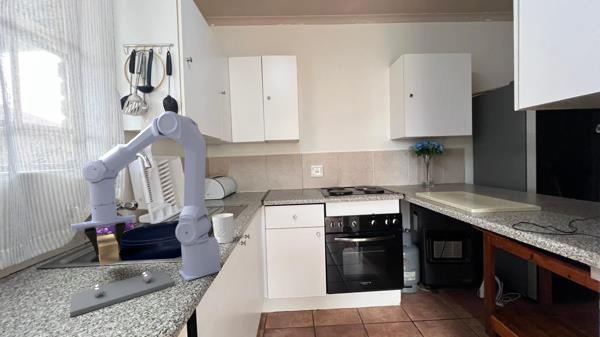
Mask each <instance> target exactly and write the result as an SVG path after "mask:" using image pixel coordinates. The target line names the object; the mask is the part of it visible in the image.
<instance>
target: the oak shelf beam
mask: <svg viewBox="0 0 600 337" xmlns="http://www.w3.org/2000/svg"><path fill="white" fill-rule="evenodd" d="M97 244H98V249H99V255H98V260H99V263H100V267H104V266H107V265H112V264H116V263H120V254H119V253H120V252H119V251H118V243H117V241H116V239H115V237H114V233H113V234H103V235H99V236H98V235H97Z"/></svg>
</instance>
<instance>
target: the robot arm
mask: <svg viewBox="0 0 600 337" xmlns="http://www.w3.org/2000/svg"><path fill="white" fill-rule="evenodd" d="M161 139H172V140H174V141H175V142H177V143H178V144H179V145H180V146H181V147H182V148H184V149H183V150H184V169H183V170H184V175H183V176H184V177H183V179H184V182H183V208H182V210H181V211H180V213H179V217H178V224H177V225H176V228H175V231H174V232H175V233H174V234H175V238H176V239H177V241H179V242H180V247H181V261H182V262H181V263H182V269H180V270H179V271H178V273H179V275H180V276H181V277H182V278H184V280H185V281H187V282H188V281H192V280H195V279H197V278H198V279H199V278H201V277H205V276H208V275H212V274H215V273H218V272H221V271H222V268H221V256H220V245H219V244H218V241H217V239H216V238H215V236H213V237H211V236H210V237H209V232H210V231H211V228H212V222H211V221H212V220H211V218H210V217H209V210H208V208H207V206H205V203H206V202H205V199H206V162H207V161H206V157H207V156H206V155H207V154H206V153H207V151H206V149H207V143H206V140H205V138H204V135H203V134H202V132H201V131H200V129H199V125H198V123H197V122H196V121H194V120H193V119H192V118H191V117H189V116H186V115H182V114H179V113H176V112H174V111H171V110H167V111H164V112H162V113H160V115H159V116H157V117H154V118H153V119H152V121H151V122H150V124H149V125H148V126H146V128H144V129H143V130H142V131H141V132H139V133H138V134H136V136H135V137H134V138H132V139H131V140H130V141H129V142H128V143H126V144H125V143H118V144H113V145H112V146H111V149H110V150H108V152H106V153H105V154H103V155H100V156H98V159H97V160H89V161H87V162H86V163H85V164H84V165H83V167H82V170H81V171H82V177H83V178H84V180H85V181H87V182H88V187H89V188H88V189H89V200H90V211H91V212H90V213H91V220H90V221H84V222H78V223H71V225H70V226H71V227H70V228H71V233H77V232H81V231H82V232H83V231H84V234H85V236H86V238H88V240H89V241H90V243H91V244H92V246H93V249H94V252H95V256H99V249H98V244H97V237H98V234H97V232H96V229H97V228H100V227H107V226H113V225H115V226H114V229H115V239H116V241H117V243H118V251H119V248H120V249H121V242H122V237H123V235H124V232H126V231H125V228H126V225H125V223H134V224H135V223H136V222H137V217H136V215H135V214H131V215H122V216H121V217H117V212H118V211H117V200H116V199H117V198H116V189H115V188H116V186H115V185H116V183H117V182H116V179H117V178H118V176H119V173H120V172H121V171H122V170H124V169H125V168H126V167H128V166H129V165H131V164H132V163H133V162H135V161H136V159H137V154H138V153H139V152H141V151H142V150H145V149H146V148H148V147H149V146H151V145H152V144H153V143H155V142H157V141H158V140H161ZM110 223H112V224H110ZM104 224H106V225H104ZM99 225H100V226H99Z"/></svg>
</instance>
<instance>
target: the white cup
mask: <svg viewBox="0 0 600 337" xmlns="http://www.w3.org/2000/svg"><path fill="white" fill-rule="evenodd" d="M211 219H212V220H211V221H212V228H213V233H214V234H213V235H214V236H213V237H215V238H216V239H217V241H218V243H222V244H221V245H223V243H224V244H229V243H231V242H233V241H234V232H235V231H234V230H235V228H234V226H235V225H234V213H226V212H225V213H219V214H218V213H217V214H214V215H211Z"/></svg>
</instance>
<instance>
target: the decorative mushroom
mask: <svg viewBox="0 0 600 337" xmlns="http://www.w3.org/2000/svg"><path fill="white" fill-rule="evenodd" d="M121 216H123V215H122V214H121V213H119V212H118V211H117V217H121ZM110 224H112V223H110ZM104 225H106V224H104ZM125 225H126V228H125V231H124V232H127V231H131V230H133V229H135V228H136V227H137V225H136V224H135V222H134V223H125ZM98 226H100V225H98ZM114 226H115V225H113V226H107V227H100V228H96V232H97V235H109V234H113V235H114V237H115V229H114ZM120 250H121V247H120V248H119V253H121V252H120Z"/></svg>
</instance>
